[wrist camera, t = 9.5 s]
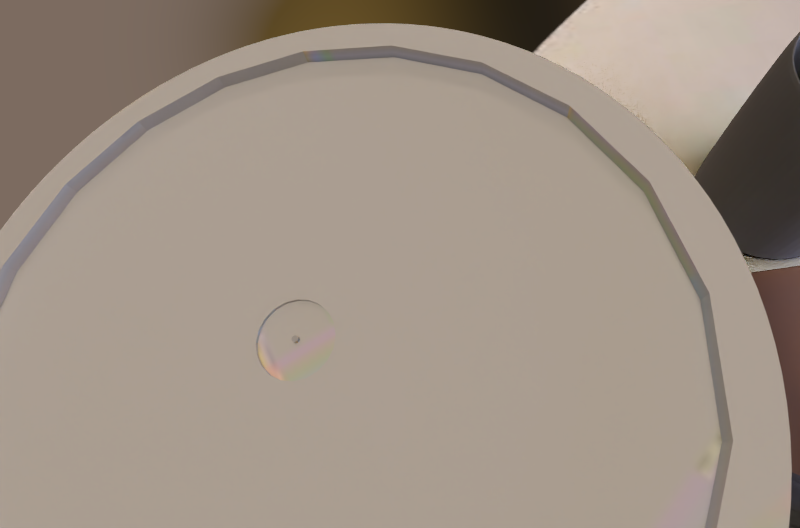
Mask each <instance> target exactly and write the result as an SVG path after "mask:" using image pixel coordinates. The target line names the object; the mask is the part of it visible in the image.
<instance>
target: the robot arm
mask: <svg viewBox="0 0 800 528" xmlns="http://www.w3.org/2000/svg"><path fill="white" fill-rule="evenodd" d="M789 528H800V475H797V474H795V473H792V477H791V508H790V520H789Z"/></svg>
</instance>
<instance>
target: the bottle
mask: <svg viewBox="0 0 800 528" xmlns="http://www.w3.org/2000/svg"><path fill="white" fill-rule="evenodd" d="M791 477H792V464H791V440H790V427H789V418H788V408H787V400H786V394H785V388H784V382H783V376H782V371H781V366H780V362H779V358H778V353H777V349H776V344H775V341H774V337H773V334H772V330H771V327H770V324H769V320H768V317H767V314H766V311H765V308H764V305H763V303H762V300H761V297H760V294H759V291H758V289H757V286H756V284H755V282H754V279H753V277H752V275H751V272H750V270H749V267H748V265H747V263H746V261H745V259H744V257H743V255H742V253H741V251H740V249H739V247H738V245H737V243H736V241H735V239H734V237H733V235H732V234H731V232H730V230H729V228H728V227H727V225H726V223H725V221H724V220H723V218H722V216H721V215H720V213H719V212H718V210H717V209H716V207H715V206H714V204H713V202H712V201H711V199H710V198H709V196H708V195H707V194H706V192H705V191H704V190H703V188H702V187H701V185H700V184H699V183H698V181H697V180H696V179H695V177H694V176H693V175H692V174H691V172H690V171H689V170H688V169H687V168H686V166H685V165H684V164H683V163H682V162H681V160H680V159H679V158H678V157H677V156H676V155H675V154H674V153H673V152H672V150H671V149H670V148H669V147H668V146H667V145H666V144H665V143H664V142H663V141H662V140H661V139H660V138H659V137H658V136H657V135H656V134H655V133H654V132H653V131H652V130H651V129H650V128H649V127H648V126H647V125H645V124H644V123H643V122H642V121H641V120H640V119H638V118H637V117H636V116H635V115H634V114H633V113H632V112H630V111H629V110H628V109H626V108H625V107H624V106H623V105H621V104H620V103H619V102H617V101H616V100H615V99H613V98H612V97H611V96H609V95H608V94H606V93H605V92H603V91H602V90H601V89H599V88H598V87H596V86H594V85H593V84H591V83H590V82H588V81H586V80H585V79H583V78H582V77H580V76H578V75H576V74H575V73H573V72H571V71H569V70H567V69H566V68H564V67H562V66H560V65H558V64H556V63H553V62H551V61H549V60H547V59H545V58H543V57H541V56H538V55H536V54H534V53H531V52H529V51H526V50H524V49H521V48H518V47H515V46H513V45H510V44H507V43H504V42H501V41H497V40H494V39H491V38H487V37H483V36H479V35H476V34H471V33H466V32H462V31H456V30H451V29H446V28H439V27H431V26H423V25H410V24H388V23H386V24H353V25H343V26H333V27H325V28H318V29H312V30H307V31H301V32H297V33H292V34H288V35H284V36H279V37H276V38H271V39H268V40H265V41H261V42H258V43H254V44H252V45H249V46H245V47H243V48H240V49H237V50H234V51H232V52H229V53H226V54H224V55H221V56H219V57H216V58H214V59H212V60H209V61H207V62H205V63H203V64H201V65H198V66H196V67H194V68H192V69H190V70H188V71H186V72H184V73H182V74H180V75H178V76H176V77H174V78H173V79H171V80H169V81H167V82H165V83H164V84H162V85H160V86H158V87H157V88H155V89H154V90H152V91H150V92H148V93H147V94H145V95H144V96H142V97H141V98H139V99H137V100H136V101H134V102H133V103H131V104H130V105H128V106H127V107H126V108H124V109H123V110H121V111H120V112H118V113H117V114H116V115H114V116H113V117H112V118H111V119H109V120H108V121H107V122H105V123H104V124H103V125H101V126H100V127H99V128H98V129H97V130H95V131H94V132H93V133H91V134H90V135H89V136H88V137H87V138H86V139H84V140H83V141H82V142H81V143H80V144H79V145H78V146H76V147H75V148H74V149H73V150H72V151H71V152H70V153H69V154H68V155H67V156H66V157H64V159H62V160H61V161H60V162H59V163H58V164H57V165H56V166H55V167H54V168H53V169H52V170H51V171H50V172H49V173H48V174H47V175H46V176H45V178H44V179H43V180H42V181H41V182H40V183H39V184H38V185H37V186H36V187H35V189H34V190H33V191H32V192H31V193H30V194H29V195H28V196H27V198H26V199H25V200H24V201H23V202H22V203H21V205H20V206H19V207H18V208H17V210H16V211H15V212H14V213H13V215H12V216H11V217H10V218H9V220H8V221H7V222H6V224H5V225H4V226H3V228H2V229H1V230H0V528H789V520H790V508H791Z"/></svg>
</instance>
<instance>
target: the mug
mask: <svg viewBox="0 0 800 528" xmlns="http://www.w3.org/2000/svg"><path fill="white" fill-rule="evenodd" d="M695 179H696V180H697V181H698V183H699V184H700V185H701V187H702V188H703V190H704V191H705V192H706V194H707V195H708V196H709V198H710V199H711V201H712V202H713V204H714V206H715V207H716V209H717V210H718V212H719V213H720V215H721V216H722V218H723V220H724V221H725V223H726V225H727V227H728V228H729V230H730V232H731V234H732V235H733V237H734V239H735V241H736V243H737V245H738V247H739V249H740V251H741V252H742V253H745V254H748V255H752V256H756V257H762V258H770V259H784V258H793V257H799V256H800V32H799V33H798V34H797V36H796V37H795V38H794V39H793V40H792V41H791V43H790V44H789V45H788V46H787V47H786V49H785V50H784V51H783V53H782V54H781V55H780V56H779V58H778V59H777V60H776V61H775V63H774V64H773V65H772V67H771V68H770V69H769V71H768V72H767V73H766V75H765V76H764V77H763V79H762V80H761V81H760V83H759V84H758V85H757V87H756V88H755V90H754V91H753V92H752V94H751V95H750V96H749V98H748V99H747V101H746V102H745V103H744V105H743V106H742V107H741V109H740V110H739V112H738V113H737V114H736V116H735V117H734V119H733V120H732V121H731V123H730V124H729V126H728V127H727V128H726V130H725V131H724V133H723V134H722V135H721V137H720V138H719V140H718V141H717V143H716V144H715V146H714V147H713V148H712V150H711V151H710V153H709V154H708V156H707V157H706V159H705V161H704V162H703V164H702V165H701V167H700V169H699V171H698V173H697V175H696V177H695Z"/></svg>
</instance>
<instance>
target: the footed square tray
mask: <svg viewBox="0 0 800 528" xmlns="http://www.w3.org/2000/svg"><path fill="white" fill-rule="evenodd" d="M751 275H752V277H753V279H754V282H755V284H756V286H757V289H758V291H759V294H760V297H761V300H762V303H763V305H764V308H765V311H766V314H767V317H768V320H769V324H770V327H771V330H772V334H773V337H774V341H775V344H776V349H777V353H778V358H779V362H780V366H781V371H782V376H783V382H784V388H785V394H786V400H787V408H788V418H789V427H790V440H791V464H792V473H795V474H797V475H800V266H795V267H788V268H781V269H774V270H767V271H760V272H753V273H751Z"/></svg>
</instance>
